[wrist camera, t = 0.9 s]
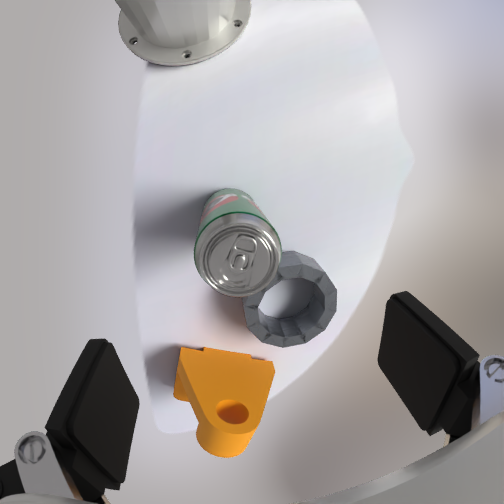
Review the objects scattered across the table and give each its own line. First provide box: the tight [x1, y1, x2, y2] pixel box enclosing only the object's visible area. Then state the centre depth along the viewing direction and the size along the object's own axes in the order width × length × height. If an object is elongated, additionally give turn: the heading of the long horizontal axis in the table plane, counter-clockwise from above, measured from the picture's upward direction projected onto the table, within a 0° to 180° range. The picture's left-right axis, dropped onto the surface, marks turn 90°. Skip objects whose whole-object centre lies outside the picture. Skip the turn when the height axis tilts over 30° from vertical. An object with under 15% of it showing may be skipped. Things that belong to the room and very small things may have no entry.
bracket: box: [173, 347, 275, 458], centre depth 27 cm, size 11×7×12 cm, turn 74°
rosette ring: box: [242, 251, 337, 348], centre depth 28 cm, size 9×9×4 cm
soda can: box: [194, 189, 282, 297], centre depth 21 cm, size 5×5×12 cm
